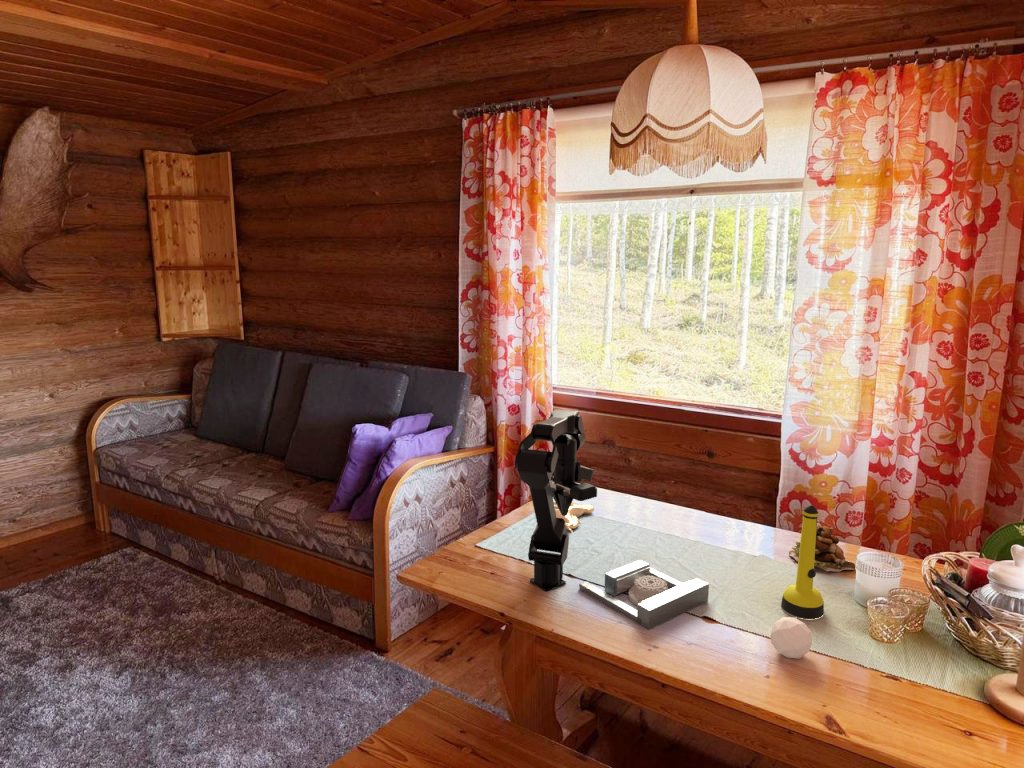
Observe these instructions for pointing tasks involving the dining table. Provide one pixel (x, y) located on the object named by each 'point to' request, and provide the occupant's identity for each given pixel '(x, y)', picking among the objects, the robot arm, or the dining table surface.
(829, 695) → the dining table surface
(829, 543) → the mossy log pile
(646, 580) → the mechanical component
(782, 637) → the ball
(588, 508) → the unicorn
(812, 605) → the flashlight
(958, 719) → the dining table surface
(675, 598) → the vise
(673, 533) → the dining table surface
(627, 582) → the block
